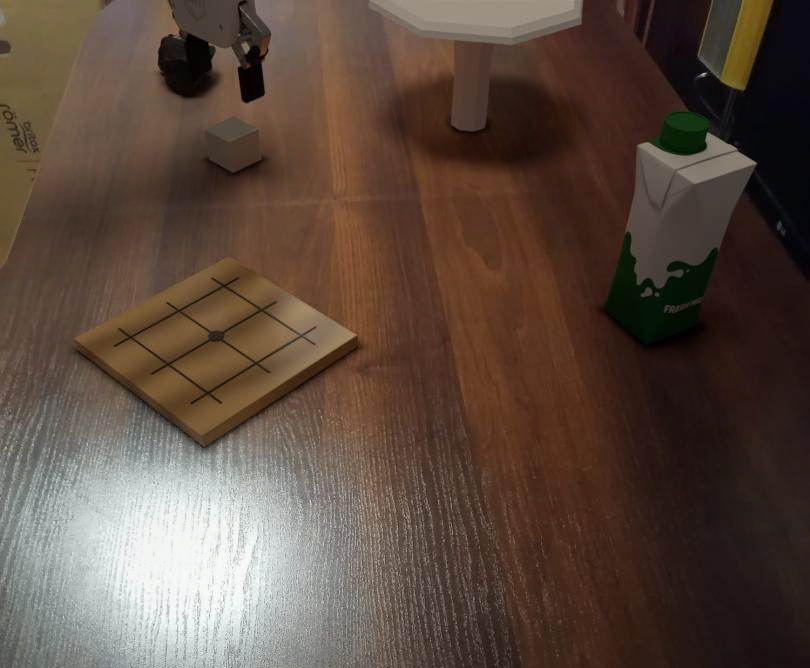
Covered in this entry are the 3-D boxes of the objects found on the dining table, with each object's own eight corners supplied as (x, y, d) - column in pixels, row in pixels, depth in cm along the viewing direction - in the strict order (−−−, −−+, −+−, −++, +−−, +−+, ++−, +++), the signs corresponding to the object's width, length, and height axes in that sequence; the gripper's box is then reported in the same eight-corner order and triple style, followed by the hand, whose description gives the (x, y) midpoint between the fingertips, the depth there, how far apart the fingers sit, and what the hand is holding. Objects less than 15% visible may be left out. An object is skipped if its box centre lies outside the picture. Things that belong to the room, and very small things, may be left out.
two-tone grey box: (209, 159, 111) (203, 128, 108) (237, 146, 113) (233, 116, 110) (233, 173, 109) (228, 141, 106) (261, 159, 111) (258, 128, 108)
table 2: (512, 197, 107) (530, 53, 94) (326, 136, 115) (319, -3, 102) (602, 109, 122) (628, -25, 109) (432, 62, 131) (437, -68, 118)
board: (77, 350, 87) (72, 337, 86) (230, 267, 96) (228, 254, 95) (204, 447, 78) (201, 434, 77) (358, 346, 88) (357, 333, 87)
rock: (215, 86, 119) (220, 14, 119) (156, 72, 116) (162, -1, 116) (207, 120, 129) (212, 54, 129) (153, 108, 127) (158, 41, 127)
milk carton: (652, 284, 96) (705, 99, 80) (709, 328, 91) (777, 141, 75) (590, 307, 93) (632, 120, 77) (646, 354, 88) (702, 165, 72)
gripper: (123, -93, 93) (157, 73, 106) (228, -52, 85) (250, 120, 99) (179, -108, 96) (205, 54, 110) (284, -71, 89) (298, 98, 102)
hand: (227, 85), depth 104 cm, fingers open, 9 cm apart
